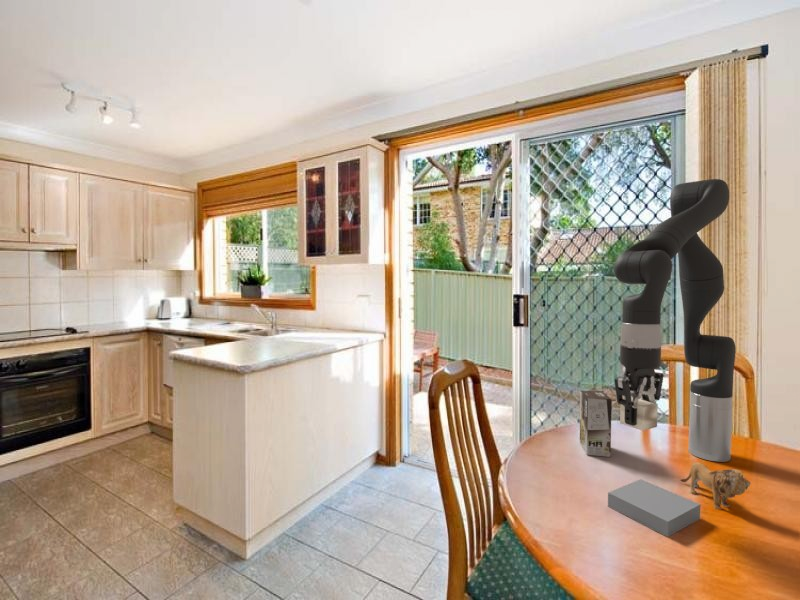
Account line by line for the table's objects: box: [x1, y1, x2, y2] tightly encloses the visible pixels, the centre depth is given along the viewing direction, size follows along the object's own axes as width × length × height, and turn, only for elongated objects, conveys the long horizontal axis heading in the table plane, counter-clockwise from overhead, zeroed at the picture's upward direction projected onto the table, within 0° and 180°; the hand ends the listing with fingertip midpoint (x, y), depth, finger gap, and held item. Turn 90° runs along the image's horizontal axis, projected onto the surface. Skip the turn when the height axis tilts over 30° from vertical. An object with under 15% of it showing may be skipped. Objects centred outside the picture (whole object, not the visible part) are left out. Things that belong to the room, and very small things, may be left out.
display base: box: [607, 478, 702, 538], centre depth 84 cm, size 12×12×3 cm
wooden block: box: [619, 397, 659, 432], centre depth 87 cm, size 5×5×5 cm
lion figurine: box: [679, 461, 752, 511], centre depth 89 cm, size 15×5×9 cm, turn 12°
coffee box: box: [579, 390, 613, 458], centre depth 115 cm, size 9×6×16 cm
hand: (638, 422), depth 87 cm, fingers closed on wooden block, 5 cm apart
